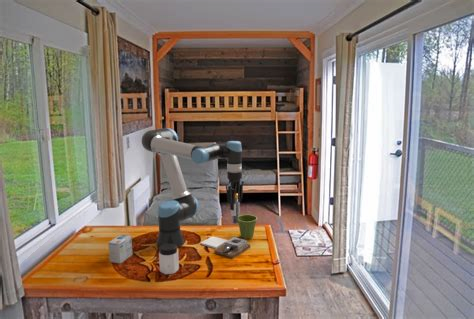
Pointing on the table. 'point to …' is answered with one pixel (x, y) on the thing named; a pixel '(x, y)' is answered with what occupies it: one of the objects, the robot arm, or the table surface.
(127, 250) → the light bulb box
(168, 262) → the jar
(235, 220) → the copper and gray cylinder
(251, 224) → the plant pot
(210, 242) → the mat
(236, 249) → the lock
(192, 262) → the table surface
